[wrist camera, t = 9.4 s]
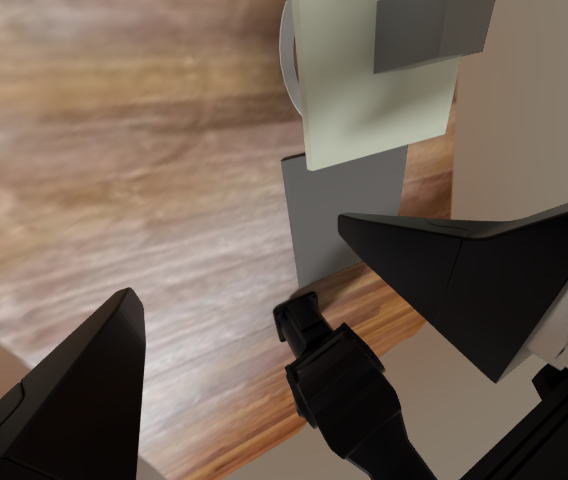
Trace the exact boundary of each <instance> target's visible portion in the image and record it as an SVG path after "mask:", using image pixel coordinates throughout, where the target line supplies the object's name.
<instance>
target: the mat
mask: <svg viewBox="0 0 568 480" xmlns="http://www.w3.org/2000/svg"><path fill="white" fill-rule="evenodd" d="M407 149H408V144H407V145H404V146H400V147H397V148H393V149H390V150H386V151H382V152H379V153H375V154H372V155H368V156H365V157H361V158H357V159H354V160H350V161H347V162H343V163H340V164H336V165H332V166H329V167H325V168H322V169H318V170H315V171H311V170H308V169H307V162H306V155H303V156H298V157H294V158H290V159H286V160H282V161H281V165H282V172H283V179H284V186H285V193H286V199H287V206H288V213H289V220H290V227H291V234H292V241H293V248H294V255H295V262H296V269H297V276H298V283H299V287H300V289H301V288H303V287H305V286H307V285H310V284H312V283H314V282H316V281H319V280H321V279H323V278H326V277H328V276H330V275H332V274H335V273H337V272H339V271H341V270H344V269H346V268H348V267H350V266H353V265H355V264H357V263H359V262H362V261H363V260H361V259H360V258H359V257H358V256H357V255H356V253H355V252H354V251H353V250H352V249H351V248H350V247H349V245H348V244H347V243H346V242H345V241H344V240H343V239H342V237H341V236H340V235H339V233H338V225H337V218H338V215H339V214H342V213H345V212H350V213H363V214H377V215H391V216H398V214H399V207H400V199H401V192H402V185H403V178H404V171H405V163H406V156H407Z"/></svg>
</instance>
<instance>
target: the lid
mask: <svg viewBox="0 0 568 480" xmlns="http://www.w3.org/2000/svg"><path fill="white" fill-rule="evenodd" d="M494 3H495V0H292V11H293V22H294V32H295V43H296V54H297V65H298V76H299V86H300V97H301V108H302V119H303V130H304V140H305V151H306V162H307V169H308V170H311V171H315V170H318V169H322V168H325V167H329V166H332V165H336V164H340V163H343V162H347V161H350V160H354V159H357V158H361V157H365V156H368V155H372V154H375V153H379V152H382V151H386V150H390V149H393V148H397V147H400V146H404V145H407V144H411V143H414V142H418V141H422V140H425V139H429V138H432V137H436V136H439V135H443V134H445V131H446V126H447V122H448V117H449V112H450V107H451V103H452V98H453V93H454V89H455V84H456V79H457V74H458V70H459V65H460V60H461V57H462V56H466V55H470V54H474V53H479V52H482V51H483V47H484V43H485V39H486V35H487V31H488V27H489V23H490V19H491V15H492V11H493V7H494Z"/></svg>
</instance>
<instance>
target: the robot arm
mask: <svg viewBox="0 0 568 480" xmlns="http://www.w3.org/2000/svg"><path fill="white" fill-rule="evenodd" d="M337 225H338V233H339V235H340V236H341V237H342V239H343V240H344V241H345V242H346V243H347V244H348V245H349V247H350V248H351V249H352V250H353V251H354V252H355V253H356V255H357V256H358V257H359V258H360V259H361V260H363V261H364V262H365V263H366V264H367V265H368V266H369V267H370V268H371V269H372V270H373V271H374V272H375V273H377V274H378V275H379V276H380V277H381V278H382V279H383V280H384V281H385V282H386V283H387V284H388V285H389V286H390V287H392V288H393V289H394V290H395V291H396V292H397V293H398V294H399V295H400V296H401V297H402V298H403V299H404V300H405V301H407V302H408V303H409V304H410V305H411V306H412V307H413V308H414V309H415V310H416V311H417V312H418V313H419V314H420V315H422V316H423V317H424V318H425V319H426V320H427V321H428V322H429V323H430V324H431V325H432V326H434V327H435V329H436V330H438V332H440V333H441V334H442V335H443V336H444V337H445V338H446V339H447V340H448V341H449V342H450V343H451V344H452V345H454V346H455V347H456V348H457V349H458V350H459V351H460V352H461V353H462V354H463V355H464V356H465V357H466V358H467V359H468V360H470V361H471V362H472V363H473V364H474V365H475V366H476V367H477V368H478V369H479V370H480V371H481V372H482V373H484V374H485V375H486V376H487V377H488V378H489V379H490V380H491V381H493V382H494V383H498V382H499V381H500V380H501V379H503V378H504V377H505V376H506V375H507V374H509V373H510V372H511V371H512V370H513V369H515V368H516V367H517V366H518V365H520V364H521V363H522V362H523V361H524V360H525V359H527V358H528V357H529V356H530V355H532V354H535V355H536V356H538V357H539V358H541V359H543V360H544V361H546V362H547V363H548V364H547V365H545V366H544V367H543V368H542V369H541V370H540V371H539V372H538V373H537V374H536V376H535V377H534V378H533V379H532V382H533V384H534V386H535V388H536V390H537V392H538V394H539V396H540V398H541V399H542V401H541V402H540V403H539V404H538V405H537V406H536V407H535V408H534V409H533V410H532V411H531V412H530V413H529V414H528V415H527V416H525V418H523V419H522V421H520V422H519V423H518V424H517V425H516V426H515V427H514V428H513V429H512V430H511V431H510V432H509V433H508V434H507V435H506V436H505V437H504V438H502V439H501V440H500V441H499V442H498V443H497V444H496V445H495V446H494V447H493V448H492V449H491V450H490V451H489V452H488V453H487V454H486V455H485V456H484V457H483V458H482V459H481V460H479V461H478V462H477V463H476V464H475V465H474V466H473V467H472V468H471V469H470V470H469V471H468V472H467V473H466V474H465V475H464V476H463V477H462V478H461V479H460V480H568V203H567V204H564V205H560V206H558V207H555V208H552V209H549V210H546V211H543V212H540V213H537V214H535V215H532V216H529V217H526V218H523V219H519V220H513V221H503V222H502V221H471V220H447V219H432V218H418V217H404V216H391V215H377V214H363V213H350V212H345V213H342V214H339V215H338V218H337ZM273 316H274V320H275V324H276V328H277V332H278V336H279V340H280V341H281V342H285V341H287V342H288V344H289V346H290V348H291V350H292V352H293V354H294V355H295V357H296V360H295V361H294V362H292V363H291V364H290V365H289V364H288V365H287V366H286V367H285V370H286V372H287V374H286V378H287V380H288V383H289V385H290V387H291V390H292V393H293V397H294V401H295V406H296V410H297V413H298V415H299V416H300V417H303V418H305V419H306V420H307V421H308V422H309V424H310V425H311V426H312V427H313V428H314V429H316V428H317V427H318V428H319V429H320V431H321V433H322V435H323V437H324V439H325V440H326V442H327V444H328V445H329V447H330V448H331V450H332V451H333V452H335V453H336V454H337V455H338V456H340V457H341V458H342V459H346V460H348V461H349V462H351V463H352V464H353V465H355V466H356V467H358V468H359V469H360V470H362V471H363V472H365V473H366V474H367V475H368V476H369V477H370V478H371V480H437V478H436V477H435V476H434V474H433V473H432V471H431V470H430V469H429V467H428V466H427V465H426V463H425V462H424V461H423V459H422V458H421V456H420V455H419V454H418V452H417V451H416V450H415V448H414V447H413V446H412V444H411V443H410V441H409V440H408V436H407V432H406V429H405V425H404V421H403V417H402V413H401V405H400V402H399V399H398V396H397V394H396V391H395V390H394V388H393V387H392V386H391V384H390V383H389V382H388V380H387V379H386V378H385V377H384V375H383V373H384V372H385V368H384V366H383V365H382V363H381V362H380V360H379V359H378V357H377V356H376V355H375V353H374V352H373V351H372V350H371V349H370V347H369V346H368V345H367V344H366V343H365V342H364V341H363V340H362V339H361V338H360V337H359V336H358V335H357V334H356V333H355V332H354V331H353V330H352V329H351V328H350V327H349V326H348V325H347V324H346V323H345V322H344V323H342V324H341V326H340V327H338V328H337V329H336V330H333V328H332V327H331V326H330V325H329V323H328V322H327V321H326V320H325V318H324V317H323V316H322V315H321V313H320V312H319V309H318V297H317V294H316V292H311V293H309V294H307V295H305V296H303V297H301V298H298V299H296V300H294V301H292V302H290V303H287V304H285V305H283V306H281V307H279V308H276V309H275V310H274V311H273ZM145 352H146V336H145V321H144V308H143V304H142V302H141V301H140V299H139V298H138V296H137V295H136V293H135V292H134V290H133V289H132V288H130V287H128V288H125V289H122V290H119V291H117V292H116V293H114V294H113V295H112V296H111V297H110V298H109V299H108V300H107V301H106V302H105V303H104V304H103V305H102V306H100V307H99V308H98V309H97V310H96V311H95V312H94V313H93V314H92V315H91V316H90V317H89V318H87V319H86V320H85V321H84V322H83V323H82V324H81V325H80V326H79V327H78V328H77V329H76V330H75V331H73V332H72V333H71V334H70V335H69V336H68V337H67V338H66V339H65V340H64V341H63V342H62V343H60V344H59V345H58V346H57V347H56V348H55V349H54V350H53V351H52V352H51V353H50V354H49V355H48V356H46V357H45V358H44V359H43V360H42V361H41V362H40V363H39V364H38V365H37V366H36V367H35V368H33V369H32V370H31V371H30V372H29V373H28V374H27V375H26V376H25V377H24V378H23V379H22V380H21V382H20V383H17V384H16V385H15V386H14V387H13V388H12V389H11V390H10V391H9V392H7V393H6V394H5V395H4V396H3V397H2V398H1V399H0V480H136V472H137V459H138V446H139V432H140V419H141V406H142V392H143V379H144V365H145Z"/></svg>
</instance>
